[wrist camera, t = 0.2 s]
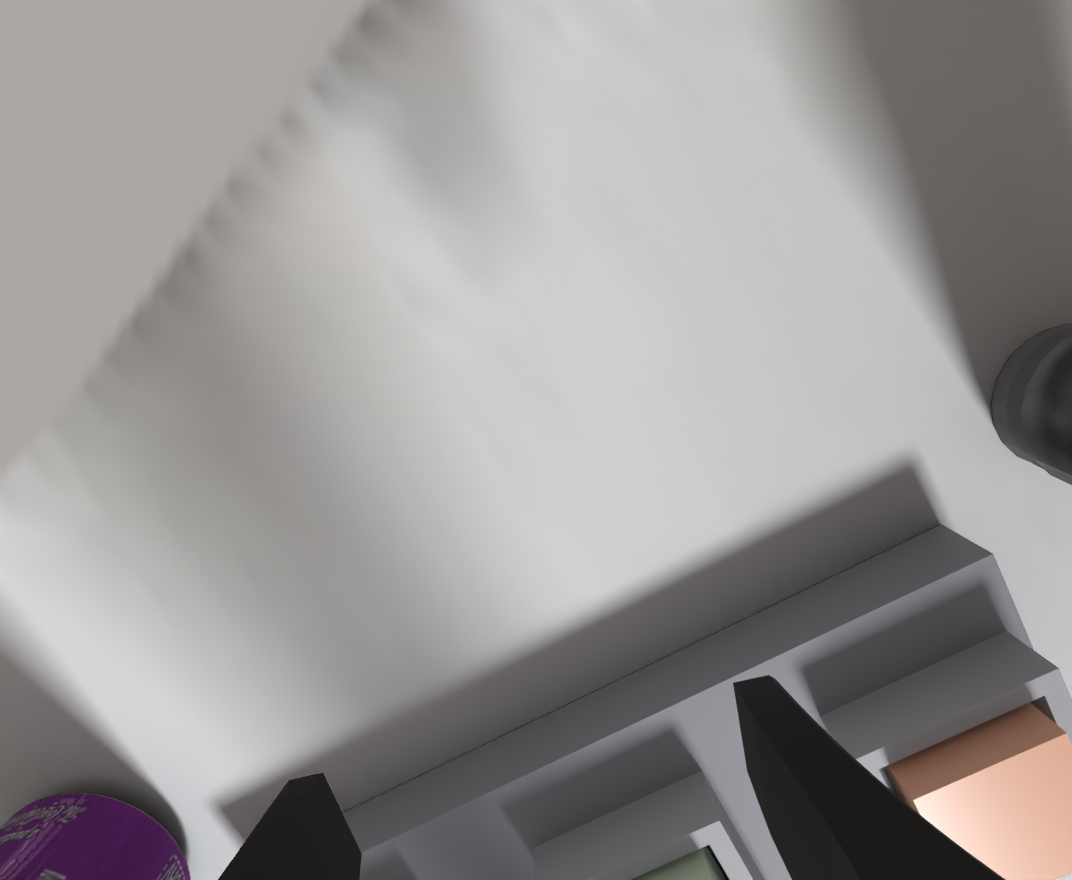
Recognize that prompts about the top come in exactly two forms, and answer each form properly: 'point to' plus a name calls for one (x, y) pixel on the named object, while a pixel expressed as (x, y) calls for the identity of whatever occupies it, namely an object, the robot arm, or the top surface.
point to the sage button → (687, 868)
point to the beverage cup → (1038, 402)
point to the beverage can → (87, 842)
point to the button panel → (722, 730)
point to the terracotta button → (998, 793)
